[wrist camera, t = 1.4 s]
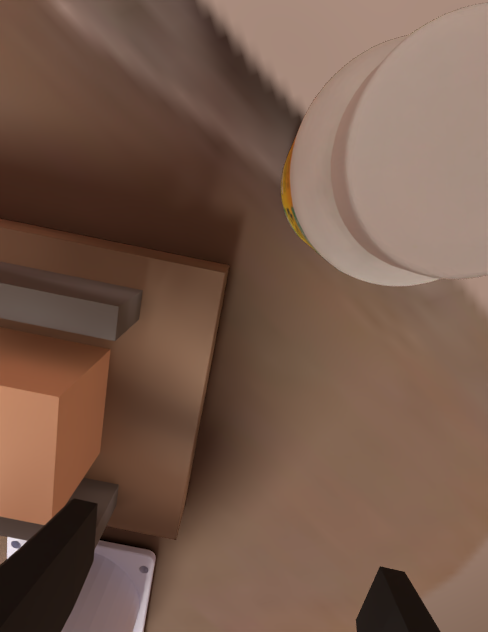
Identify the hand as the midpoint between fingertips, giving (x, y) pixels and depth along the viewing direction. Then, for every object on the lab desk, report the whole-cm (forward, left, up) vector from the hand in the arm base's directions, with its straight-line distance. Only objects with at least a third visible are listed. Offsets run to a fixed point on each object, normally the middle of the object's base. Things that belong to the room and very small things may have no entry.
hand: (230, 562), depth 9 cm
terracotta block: (-1, +8, -7) cm, 11 cm away
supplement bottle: (+10, -2, -9) cm, 13 cm away
